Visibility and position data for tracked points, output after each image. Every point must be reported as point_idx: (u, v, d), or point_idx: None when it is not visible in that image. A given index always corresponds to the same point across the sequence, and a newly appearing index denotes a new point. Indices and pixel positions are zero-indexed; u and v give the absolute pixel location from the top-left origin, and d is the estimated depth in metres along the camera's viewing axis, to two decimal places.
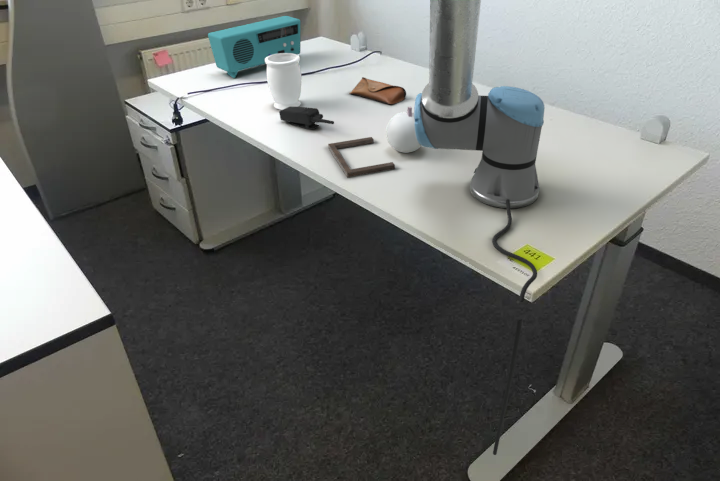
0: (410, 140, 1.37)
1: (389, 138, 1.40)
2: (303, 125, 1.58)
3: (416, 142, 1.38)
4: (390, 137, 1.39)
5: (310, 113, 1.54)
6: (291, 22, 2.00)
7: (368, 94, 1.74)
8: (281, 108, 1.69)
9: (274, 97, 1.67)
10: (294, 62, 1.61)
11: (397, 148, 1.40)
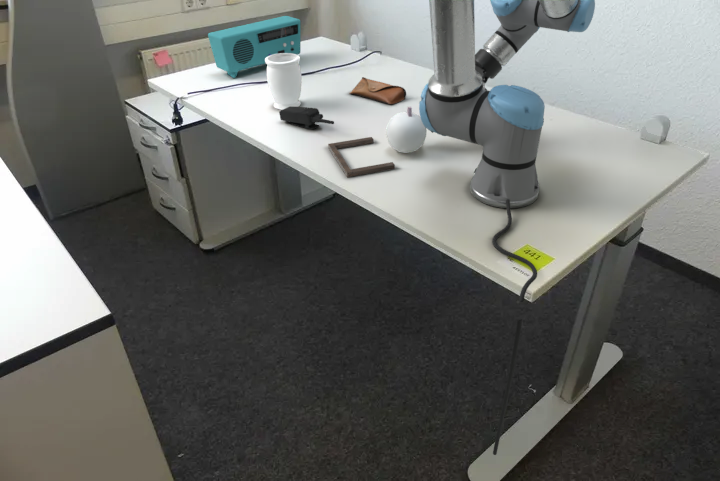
0: (410, 140, 1.37)
1: (389, 138, 1.40)
2: (303, 125, 1.58)
3: (416, 142, 1.38)
4: (390, 137, 1.39)
5: (310, 113, 1.54)
6: (291, 22, 2.00)
7: (368, 94, 1.74)
8: (281, 108, 1.69)
9: (274, 97, 1.67)
10: (294, 62, 1.61)
11: (397, 148, 1.40)
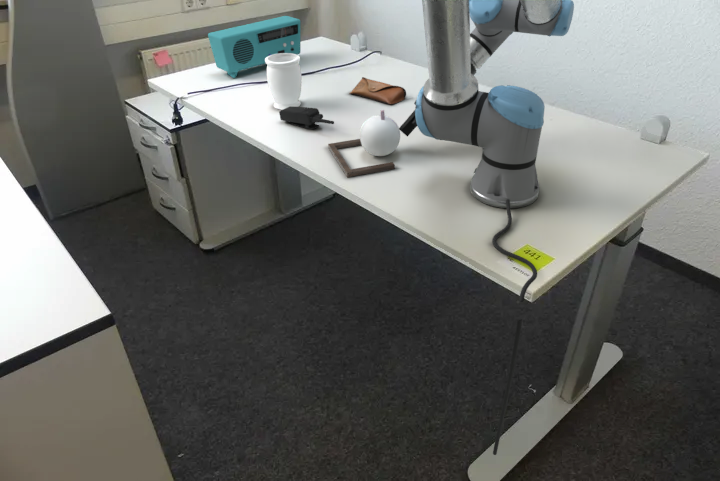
0: (381, 144, 1.36)
1: (362, 141, 1.38)
2: (303, 125, 1.58)
3: (388, 146, 1.37)
4: (362, 140, 1.38)
5: (310, 113, 1.54)
6: (291, 22, 2.00)
7: (368, 94, 1.74)
8: (281, 108, 1.69)
9: (274, 97, 1.67)
10: (294, 62, 1.61)
11: (370, 151, 1.39)
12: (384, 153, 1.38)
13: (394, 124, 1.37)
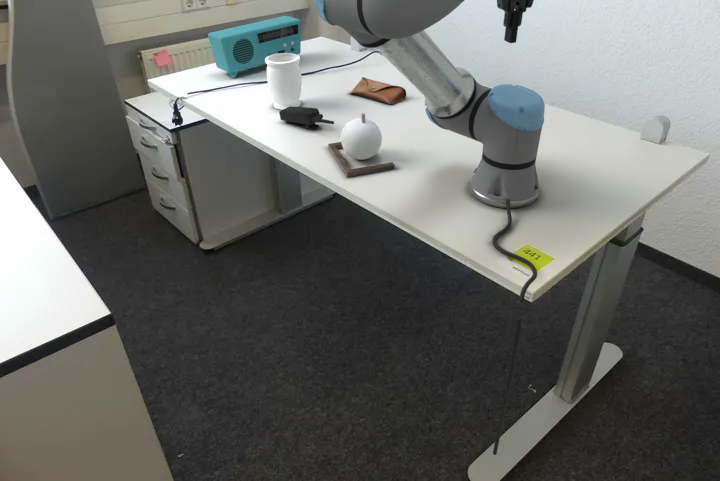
0: (362, 147, 1.34)
1: (343, 145, 1.37)
2: (303, 125, 1.58)
3: (369, 149, 1.35)
4: (343, 143, 1.37)
5: (310, 113, 1.54)
6: (291, 22, 2.00)
7: (368, 94, 1.74)
8: (281, 108, 1.69)
9: (274, 97, 1.67)
10: (294, 62, 1.61)
11: (350, 155, 1.37)
12: (365, 156, 1.37)
13: (375, 127, 1.35)
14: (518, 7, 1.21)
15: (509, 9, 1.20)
